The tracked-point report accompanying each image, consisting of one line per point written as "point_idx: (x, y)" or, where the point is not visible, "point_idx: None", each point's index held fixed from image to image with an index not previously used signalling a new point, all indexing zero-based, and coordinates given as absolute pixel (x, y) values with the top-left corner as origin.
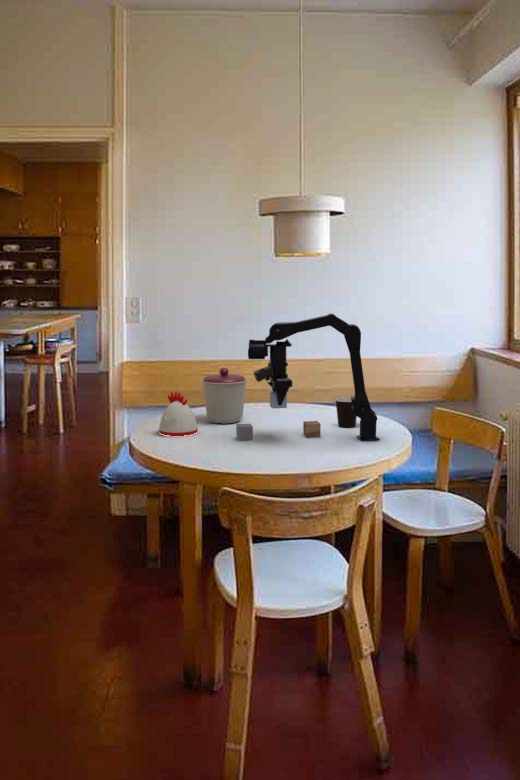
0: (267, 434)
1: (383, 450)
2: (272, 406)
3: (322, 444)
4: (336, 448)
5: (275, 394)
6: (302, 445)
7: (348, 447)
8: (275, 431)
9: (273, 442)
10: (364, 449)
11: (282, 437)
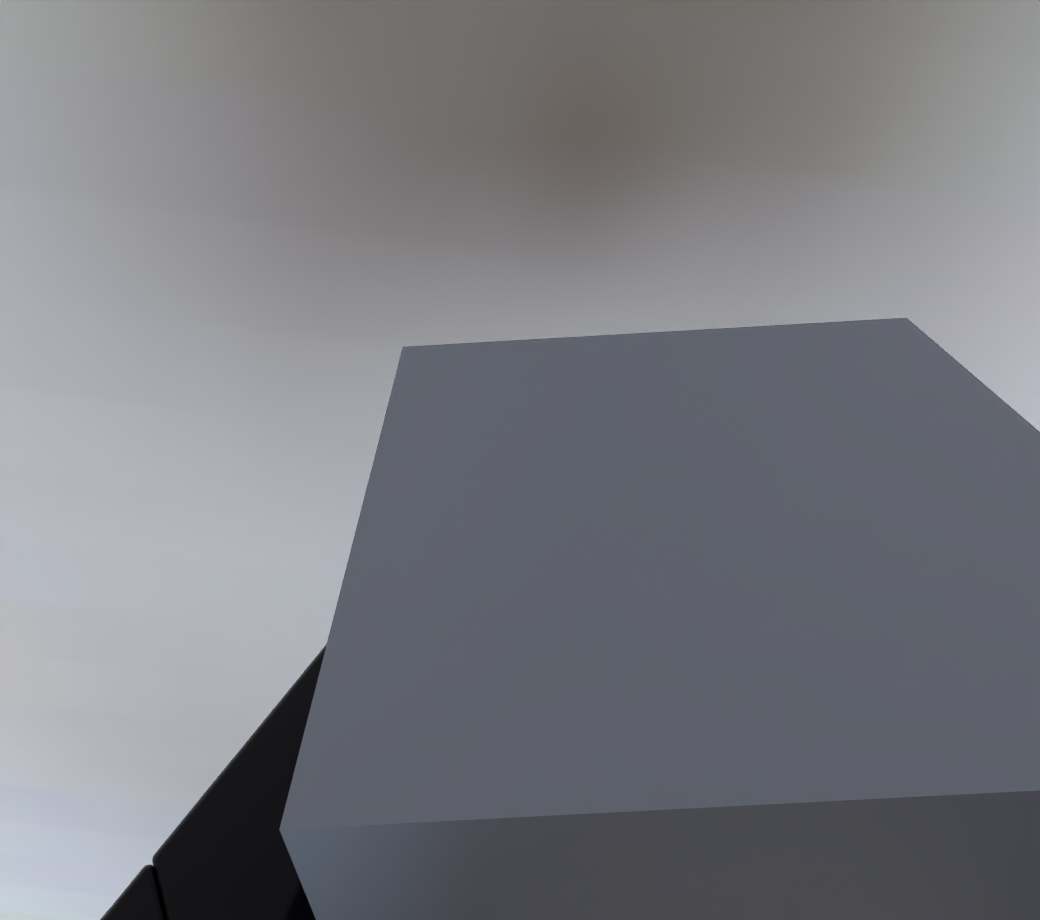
0: (840, 99)
1: (35, 914)
2: (422, 377)
3: (185, 638)
4: (31, 708)
5: (335, 916)
6: (109, 467)
7: (90, 779)
8: (991, 257)
9: (255, 122)
10: (40, 845)
11: (575, 301)
